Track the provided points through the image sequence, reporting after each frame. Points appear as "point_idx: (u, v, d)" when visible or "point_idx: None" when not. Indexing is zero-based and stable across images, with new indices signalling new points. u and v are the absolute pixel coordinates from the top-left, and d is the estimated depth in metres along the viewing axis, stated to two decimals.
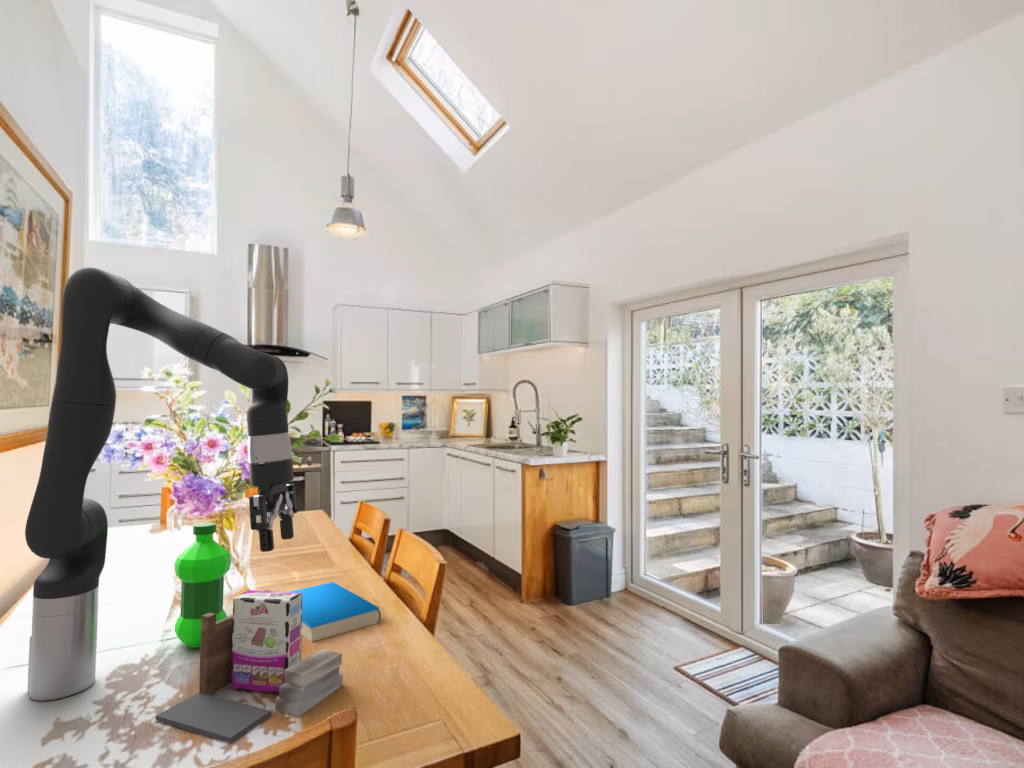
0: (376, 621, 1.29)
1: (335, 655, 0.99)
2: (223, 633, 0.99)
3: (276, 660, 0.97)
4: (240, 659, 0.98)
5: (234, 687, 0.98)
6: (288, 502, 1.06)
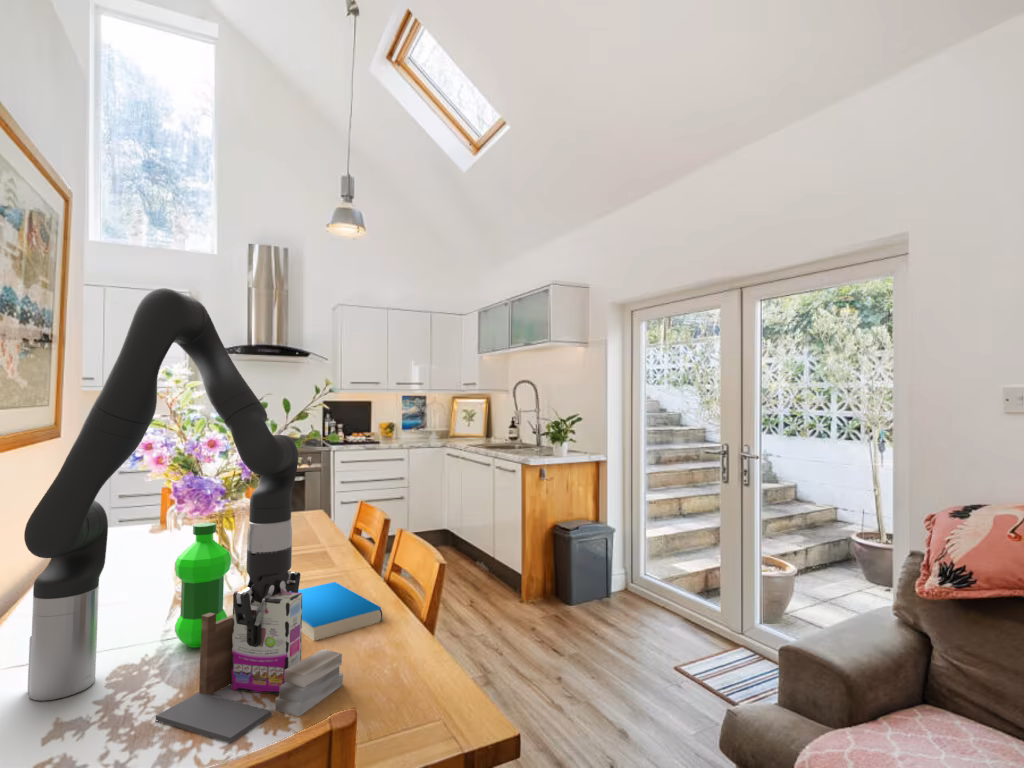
0: (378, 621, 1.30)
1: (335, 655, 0.99)
2: (223, 633, 0.99)
3: (276, 659, 0.97)
4: (240, 659, 0.98)
5: (234, 687, 0.98)
6: None
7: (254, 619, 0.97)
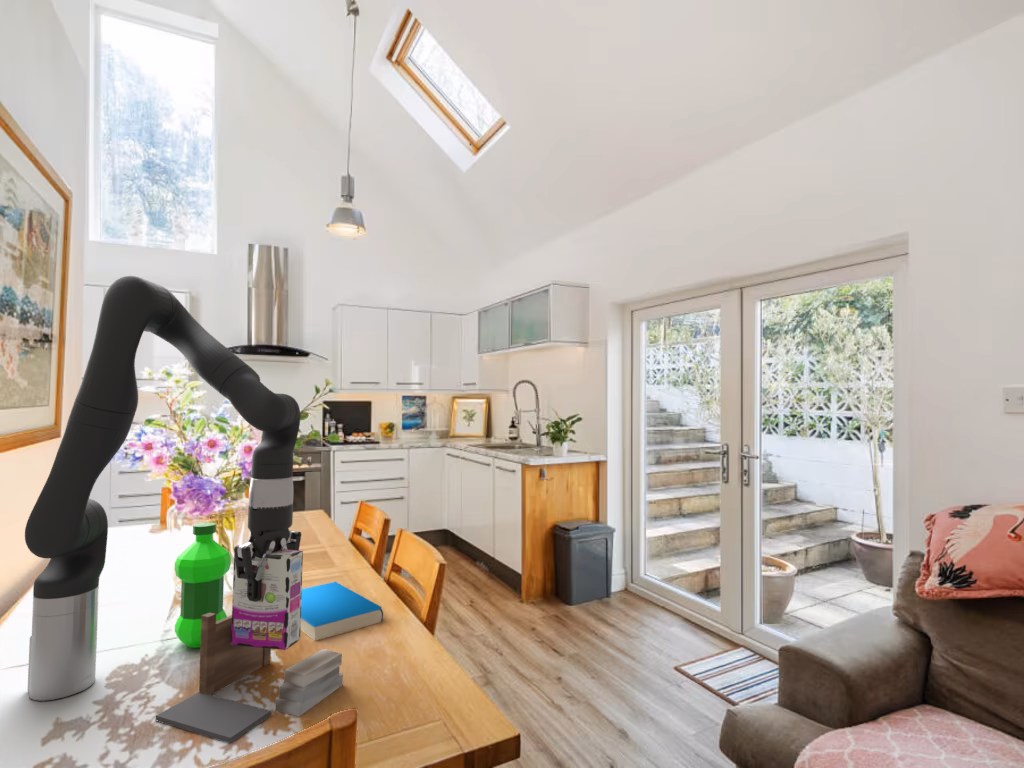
0: (379, 620, 1.30)
1: (335, 655, 0.99)
2: (223, 633, 0.99)
3: (276, 615, 0.98)
4: (240, 614, 0.99)
5: (234, 642, 0.99)
6: None
7: (255, 574, 0.97)
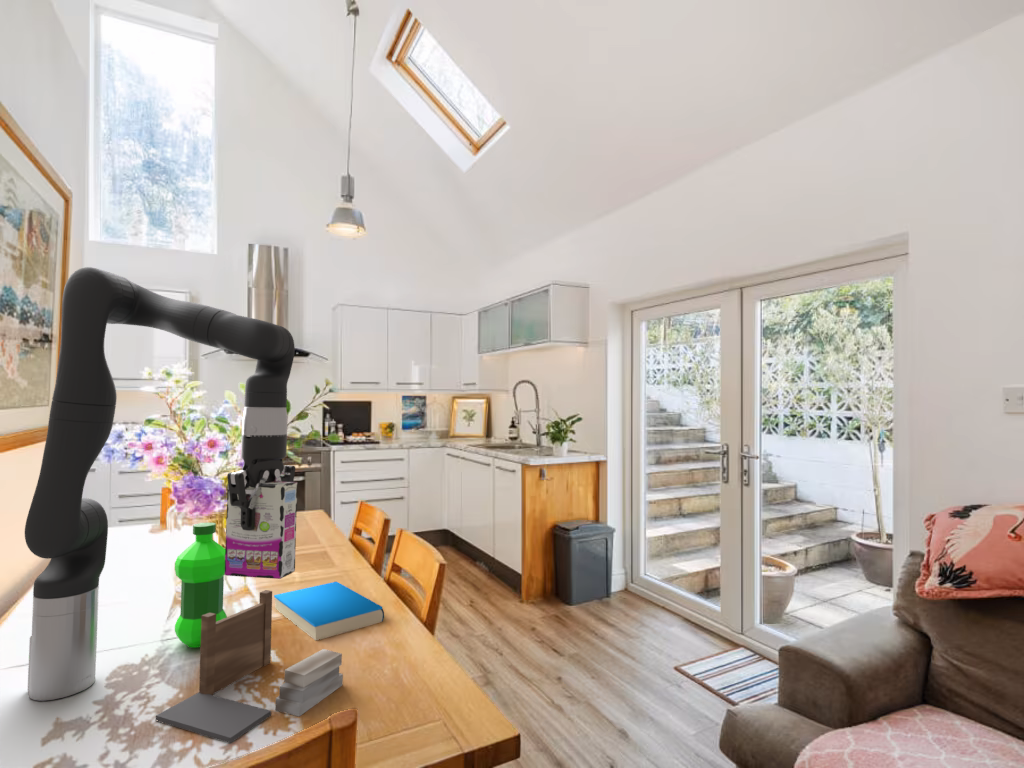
0: (379, 620, 1.30)
1: (335, 655, 0.99)
2: (223, 633, 0.99)
3: (271, 544, 0.96)
4: (234, 544, 0.97)
5: (227, 572, 0.98)
6: (277, 481, 1.01)
7: (248, 502, 0.96)
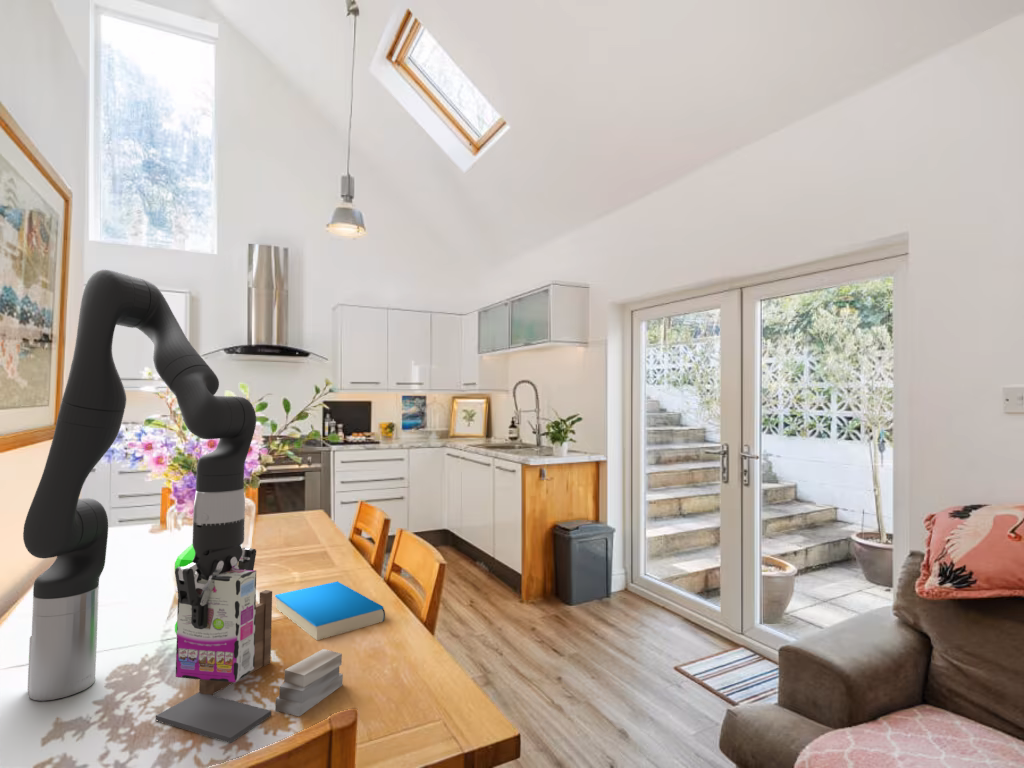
0: (380, 620, 1.30)
1: (335, 655, 0.99)
2: None
3: (225, 643, 0.87)
4: (186, 643, 0.88)
5: (179, 674, 0.88)
6: None
7: (199, 598, 0.87)
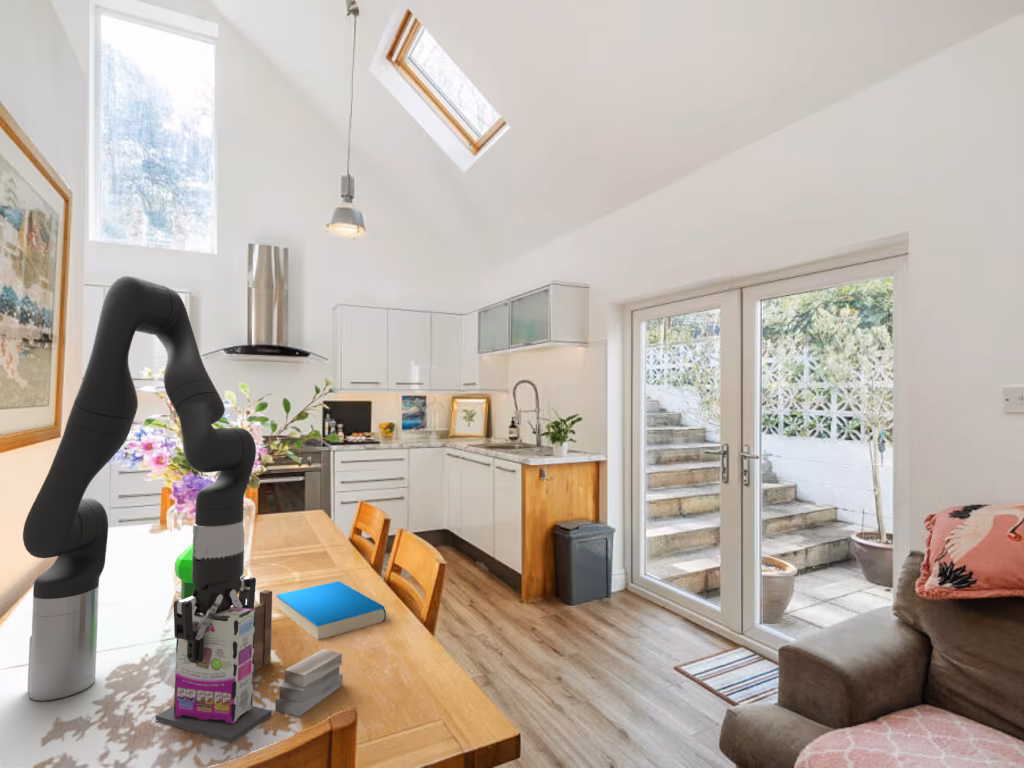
0: (381, 620, 1.30)
1: (335, 655, 0.99)
2: None
3: (223, 684, 0.87)
4: (184, 682, 0.88)
5: (177, 714, 0.88)
6: (234, 602, 0.92)
7: (195, 632, 0.86)
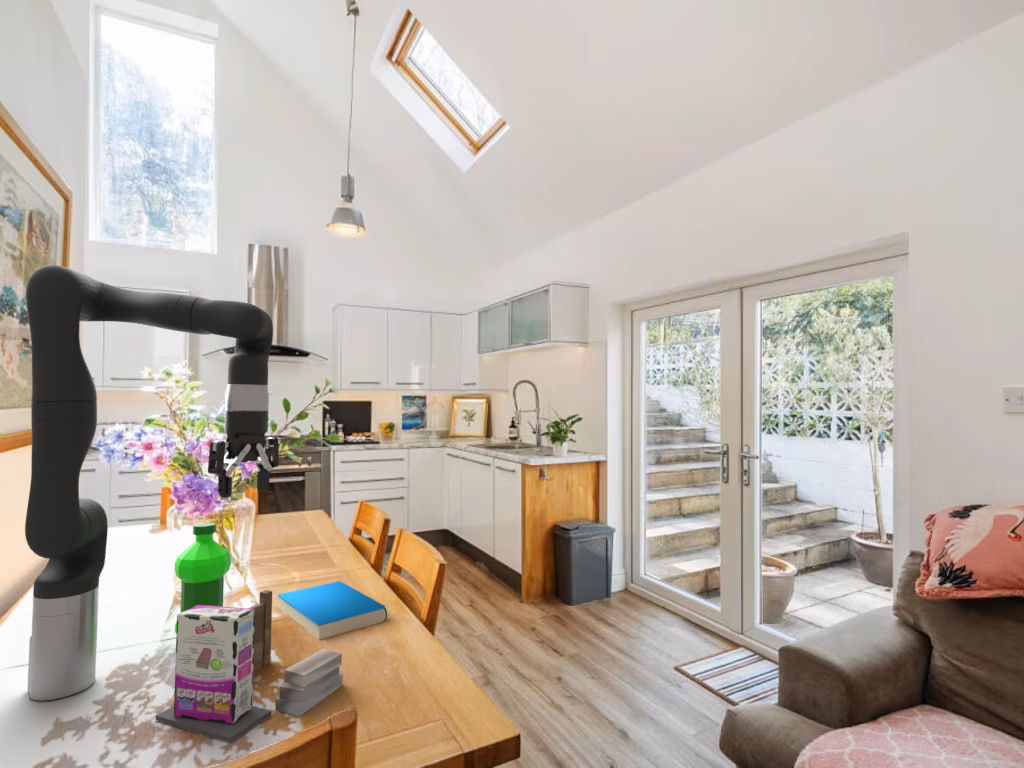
0: (382, 620, 1.30)
1: (335, 655, 0.99)
2: None
3: (223, 684, 0.87)
4: (184, 683, 0.88)
5: (177, 714, 0.88)
6: (261, 454, 1.07)
7: (225, 470, 1.00)
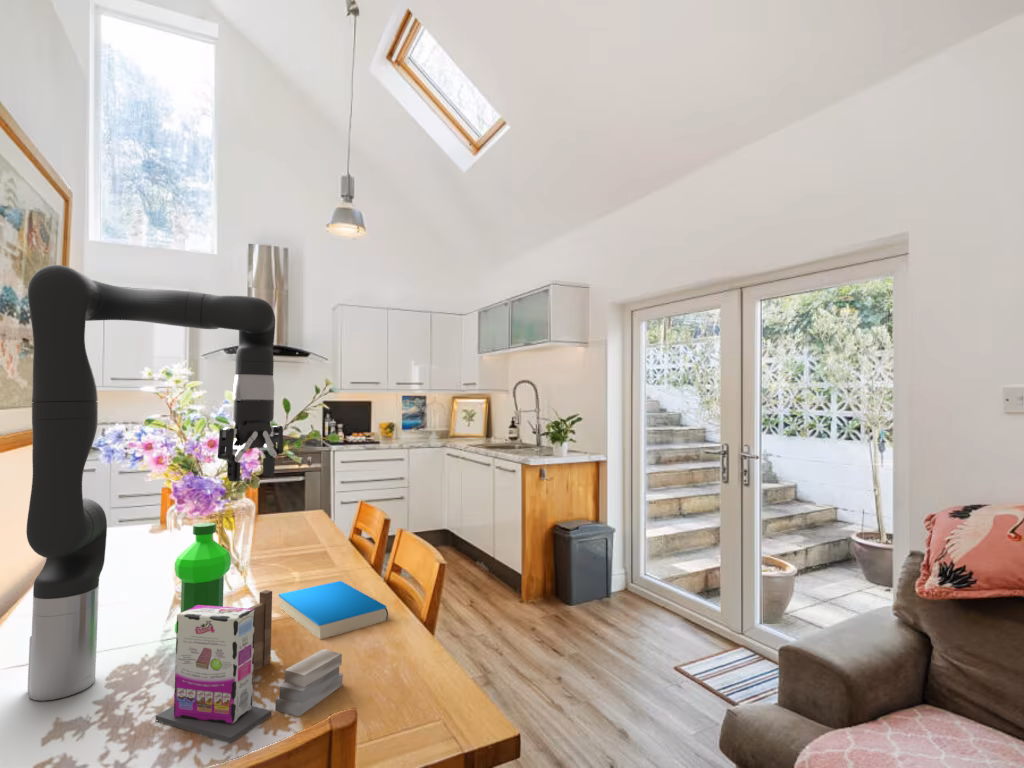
0: (383, 619, 1.30)
1: (335, 655, 0.99)
2: None
3: (223, 684, 0.87)
4: (184, 683, 0.88)
5: (177, 714, 0.88)
6: (267, 441, 1.13)
7: (234, 455, 1.06)
